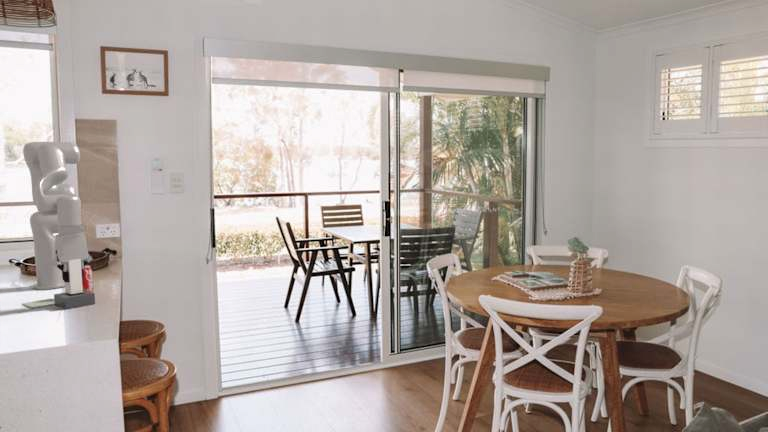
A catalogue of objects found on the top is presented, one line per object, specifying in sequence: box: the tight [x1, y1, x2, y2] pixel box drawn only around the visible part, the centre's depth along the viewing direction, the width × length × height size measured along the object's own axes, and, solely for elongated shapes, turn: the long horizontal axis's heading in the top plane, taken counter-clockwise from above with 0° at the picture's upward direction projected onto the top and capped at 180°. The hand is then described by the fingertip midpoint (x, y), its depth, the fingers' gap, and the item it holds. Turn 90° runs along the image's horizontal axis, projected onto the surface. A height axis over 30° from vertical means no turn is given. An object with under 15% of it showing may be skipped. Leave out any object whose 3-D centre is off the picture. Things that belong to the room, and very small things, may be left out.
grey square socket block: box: [53, 290, 96, 310], centre depth 219 cm, size 10×10×4 cm
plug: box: [64, 259, 83, 294], centre depth 219 cm, size 5×4×12 cm
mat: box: [22, 298, 55, 309], centre depth 221 cm, size 10×10×1 cm
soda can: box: [82, 264, 94, 293], centre depth 230 cm, size 7×7×12 cm
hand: (73, 280), depth 219 cm, fingers closed on plug, 4 cm apart
